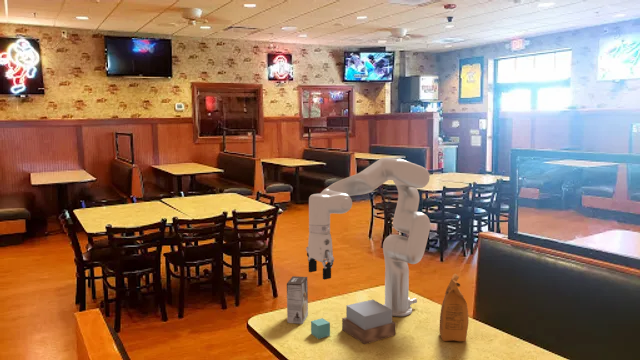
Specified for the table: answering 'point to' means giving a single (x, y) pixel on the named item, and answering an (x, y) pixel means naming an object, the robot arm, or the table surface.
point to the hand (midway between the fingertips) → (319, 275)
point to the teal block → (320, 328)
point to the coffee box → (297, 300)
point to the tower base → (368, 331)
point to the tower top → (369, 314)
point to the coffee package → (454, 313)
